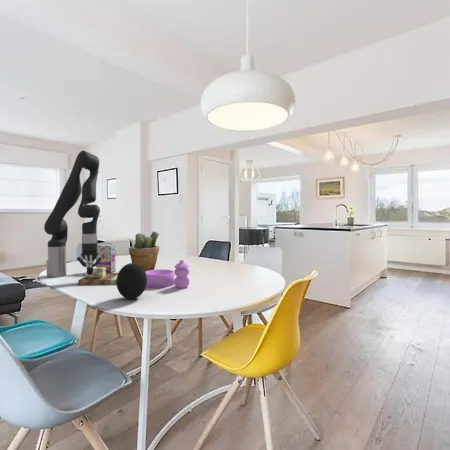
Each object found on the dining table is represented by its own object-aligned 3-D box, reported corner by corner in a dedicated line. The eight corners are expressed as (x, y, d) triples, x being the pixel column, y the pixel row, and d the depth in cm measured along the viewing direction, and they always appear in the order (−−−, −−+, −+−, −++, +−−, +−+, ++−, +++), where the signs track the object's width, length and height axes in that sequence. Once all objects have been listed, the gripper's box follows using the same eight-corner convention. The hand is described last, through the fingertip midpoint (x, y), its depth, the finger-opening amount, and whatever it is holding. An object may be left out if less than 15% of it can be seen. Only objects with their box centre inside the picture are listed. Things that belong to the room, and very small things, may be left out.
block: (93, 277, 159) (93, 268, 159) (96, 275, 164) (96, 267, 164) (102, 277, 159) (102, 268, 159) (105, 275, 164) (105, 267, 164)
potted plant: (141, 276, 174) (140, 233, 174) (122, 272, 186) (121, 231, 185) (165, 271, 189) (165, 231, 188) (146, 268, 200) (146, 230, 199)
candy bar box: (116, 271, 189) (115, 245, 189) (110, 272, 184) (110, 246, 184) (101, 270, 192) (100, 244, 192) (95, 271, 188) (95, 245, 187)
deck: (78, 285, 152) (78, 275, 152) (91, 277, 170) (91, 268, 170) (127, 284, 154) (126, 274, 154) (134, 276, 172) (134, 268, 172)
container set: (137, 286, 150) (136, 259, 150) (156, 280, 164) (156, 256, 164) (179, 291, 140) (179, 263, 139) (196, 284, 154) (196, 258, 153)
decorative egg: (110, 299, 126) (109, 263, 126) (134, 293, 137) (133, 260, 136) (129, 304, 119) (129, 266, 119) (153, 297, 130) (152, 262, 129)
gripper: (73, 242, 156) (74, 276, 157) (99, 242, 157) (100, 275, 158) (79, 241, 164) (80, 273, 165) (104, 241, 165) (105, 273, 165)
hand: (90, 274), depth 161 cm, fingers closed
